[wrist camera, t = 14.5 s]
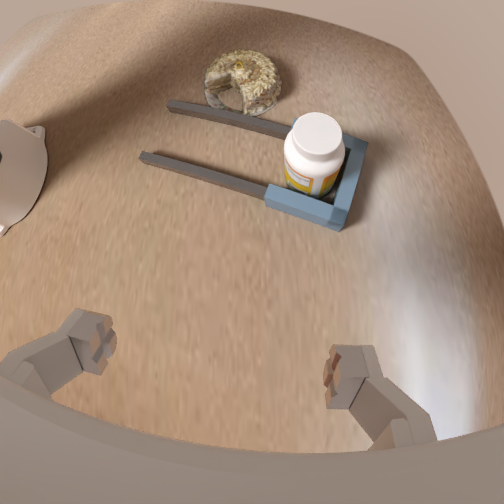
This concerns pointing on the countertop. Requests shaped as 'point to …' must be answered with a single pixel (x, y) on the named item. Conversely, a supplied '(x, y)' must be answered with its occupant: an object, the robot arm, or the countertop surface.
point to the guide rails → (208, 174)
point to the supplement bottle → (313, 154)
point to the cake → (243, 81)
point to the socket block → (317, 209)
